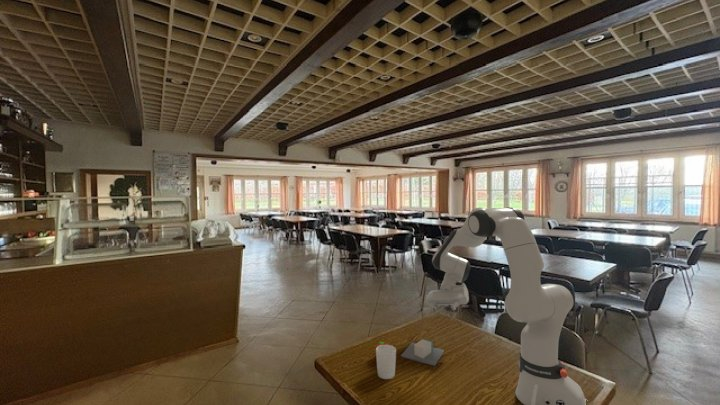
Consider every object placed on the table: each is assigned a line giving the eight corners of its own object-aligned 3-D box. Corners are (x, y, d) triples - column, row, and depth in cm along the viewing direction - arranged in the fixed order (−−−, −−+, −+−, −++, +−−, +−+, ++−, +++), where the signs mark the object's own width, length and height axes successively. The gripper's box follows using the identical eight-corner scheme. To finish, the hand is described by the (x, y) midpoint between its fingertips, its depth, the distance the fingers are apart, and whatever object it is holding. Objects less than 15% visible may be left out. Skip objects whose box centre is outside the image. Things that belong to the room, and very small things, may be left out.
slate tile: (443, 351, 141) (443, 349, 141) (434, 366, 129) (434, 364, 129) (412, 343, 148) (412, 342, 148) (400, 356, 136) (400, 355, 136)
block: (423, 358, 134) (432, 351, 140) (423, 348, 134) (432, 341, 140) (414, 354, 137) (423, 348, 143) (414, 344, 137) (423, 338, 143)
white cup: (372, 371, 125) (372, 347, 125) (389, 367, 129) (389, 343, 128) (382, 382, 118) (382, 356, 118) (400, 377, 121) (400, 351, 121)
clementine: (371, 357, 136) (371, 341, 136) (383, 352, 140) (383, 336, 140) (383, 365, 130) (383, 348, 130) (395, 360, 134) (395, 343, 134)
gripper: (427, 285, 159) (419, 304, 148) (467, 282, 148) (462, 302, 137) (432, 295, 161) (424, 315, 150) (472, 293, 149) (467, 314, 138)
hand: (443, 309), depth 143 cm, fingers open, 8 cm apart
